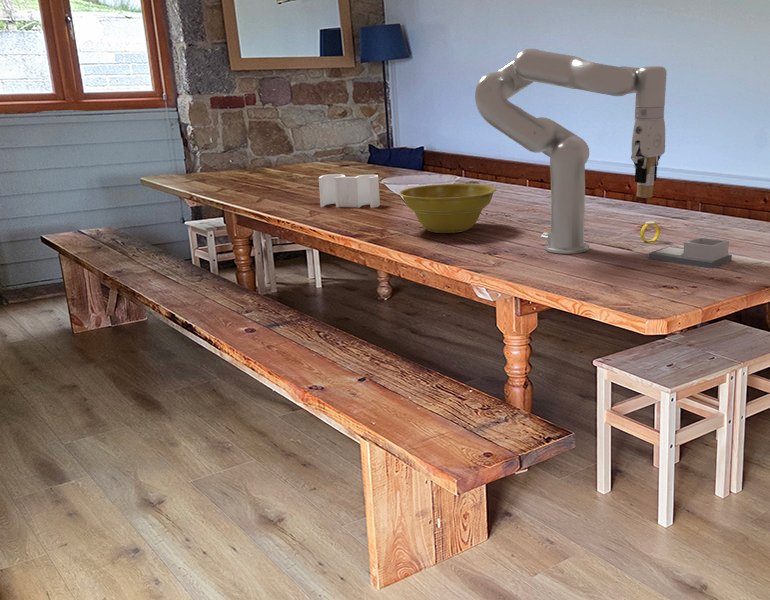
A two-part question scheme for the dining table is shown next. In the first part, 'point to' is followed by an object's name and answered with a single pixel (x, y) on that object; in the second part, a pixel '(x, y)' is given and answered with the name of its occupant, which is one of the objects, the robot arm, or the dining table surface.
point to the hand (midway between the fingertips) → (645, 180)
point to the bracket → (349, 190)
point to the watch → (645, 228)
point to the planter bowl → (448, 205)
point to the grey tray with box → (696, 253)
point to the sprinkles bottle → (647, 179)
